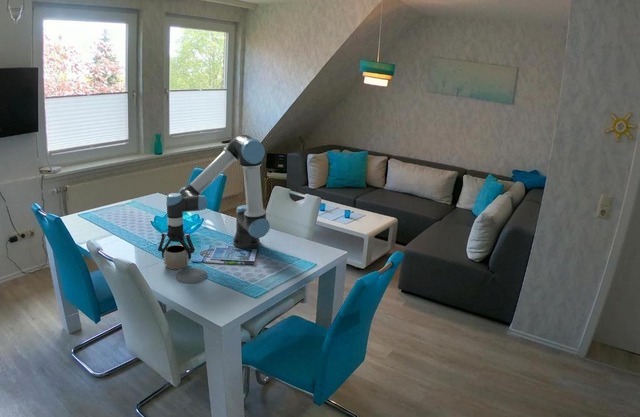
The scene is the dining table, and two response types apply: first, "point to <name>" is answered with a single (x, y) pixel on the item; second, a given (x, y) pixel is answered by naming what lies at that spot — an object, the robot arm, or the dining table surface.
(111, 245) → the dining table surface
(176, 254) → the planter
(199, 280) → the saucer
